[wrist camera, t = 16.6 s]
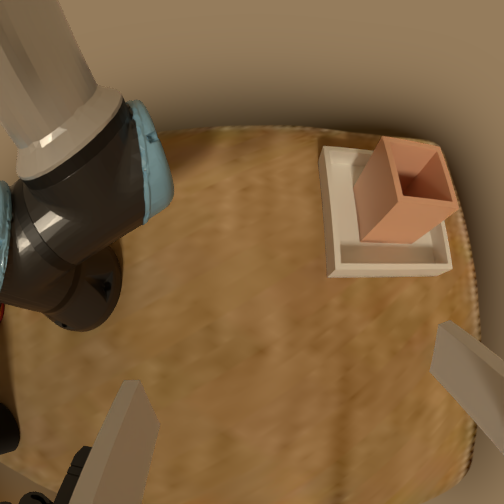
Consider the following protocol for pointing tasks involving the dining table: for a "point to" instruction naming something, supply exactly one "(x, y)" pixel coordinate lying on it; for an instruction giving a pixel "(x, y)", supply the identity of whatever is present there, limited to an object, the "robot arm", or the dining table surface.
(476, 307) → the dining table surface
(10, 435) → the coffee jar
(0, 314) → the canned food
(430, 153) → the box
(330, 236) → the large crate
